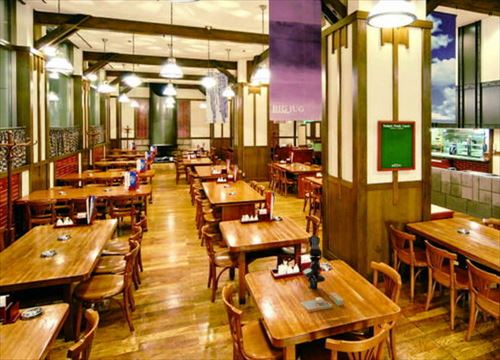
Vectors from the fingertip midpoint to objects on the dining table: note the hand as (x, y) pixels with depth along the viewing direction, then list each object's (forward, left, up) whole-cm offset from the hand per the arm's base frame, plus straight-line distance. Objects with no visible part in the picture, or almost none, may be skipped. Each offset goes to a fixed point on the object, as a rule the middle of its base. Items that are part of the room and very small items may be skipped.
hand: (314, 285), depth 252 cm
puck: (+8, 0, -9) cm, 12 cm away
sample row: (+10, +12, -10) cm, 18 cm away
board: (+11, -4, -10) cm, 15 cm away
